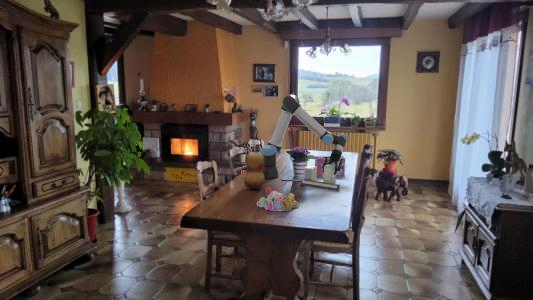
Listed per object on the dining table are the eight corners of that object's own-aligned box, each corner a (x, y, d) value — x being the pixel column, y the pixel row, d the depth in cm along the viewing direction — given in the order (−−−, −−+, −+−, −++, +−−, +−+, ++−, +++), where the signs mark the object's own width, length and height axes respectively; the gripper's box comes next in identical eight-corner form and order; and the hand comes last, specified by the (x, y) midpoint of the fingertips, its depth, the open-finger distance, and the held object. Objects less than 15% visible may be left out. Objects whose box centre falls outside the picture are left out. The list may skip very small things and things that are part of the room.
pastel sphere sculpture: (302, 202, 225) (303, 187, 224) (292, 214, 203) (292, 198, 202) (263, 197, 233) (263, 183, 232) (249, 209, 212) (249, 193, 210)
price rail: (300, 184, 264) (300, 179, 263) (302, 184, 266) (302, 178, 265) (338, 191, 249) (338, 185, 249) (339, 190, 251) (339, 184, 251)
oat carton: (308, 181, 273) (309, 165, 271) (316, 183, 270) (317, 166, 268) (303, 184, 266) (304, 167, 264) (311, 185, 263) (312, 168, 261)
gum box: (343, 172, 304) (344, 156, 302) (346, 174, 296) (347, 158, 294) (314, 172, 302) (314, 156, 299) (316, 175, 294) (317, 158, 291)
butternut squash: (254, 192, 243) (254, 154, 239) (240, 188, 252) (240, 152, 248) (268, 188, 253) (269, 152, 249) (254, 185, 262) (255, 149, 258)
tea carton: (327, 180, 279) (328, 164, 277) (335, 181, 276) (336, 165, 274) (323, 182, 272) (324, 166, 270) (331, 183, 269) (331, 167, 267)
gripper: (350, 156, 279) (341, 182, 268) (326, 153, 289) (317, 178, 278) (348, 150, 273) (339, 176, 263) (324, 147, 283) (314, 172, 272)
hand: (327, 177), depth 270 cm, fingers closed on tea carton, 6 cm apart
